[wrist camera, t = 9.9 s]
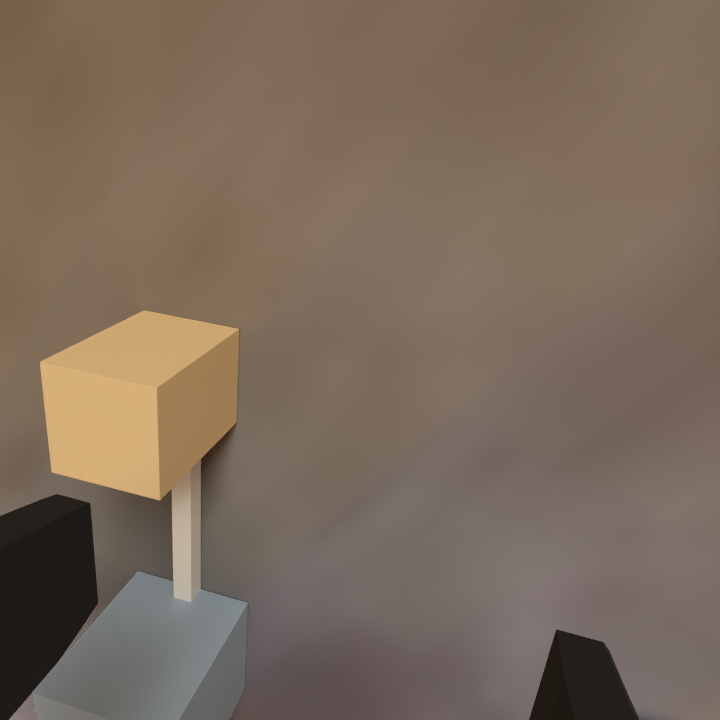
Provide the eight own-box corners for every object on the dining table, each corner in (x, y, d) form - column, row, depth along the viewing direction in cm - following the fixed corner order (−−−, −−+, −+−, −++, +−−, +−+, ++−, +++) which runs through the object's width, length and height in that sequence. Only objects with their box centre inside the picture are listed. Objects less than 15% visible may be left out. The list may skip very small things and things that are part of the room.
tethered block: (259, 332, 19) (158, 412, 14) (244, 690, 24) (170, 836, 19) (125, 306, 19) (-16, 371, 14) (142, 657, 25) (46, 789, 20)
